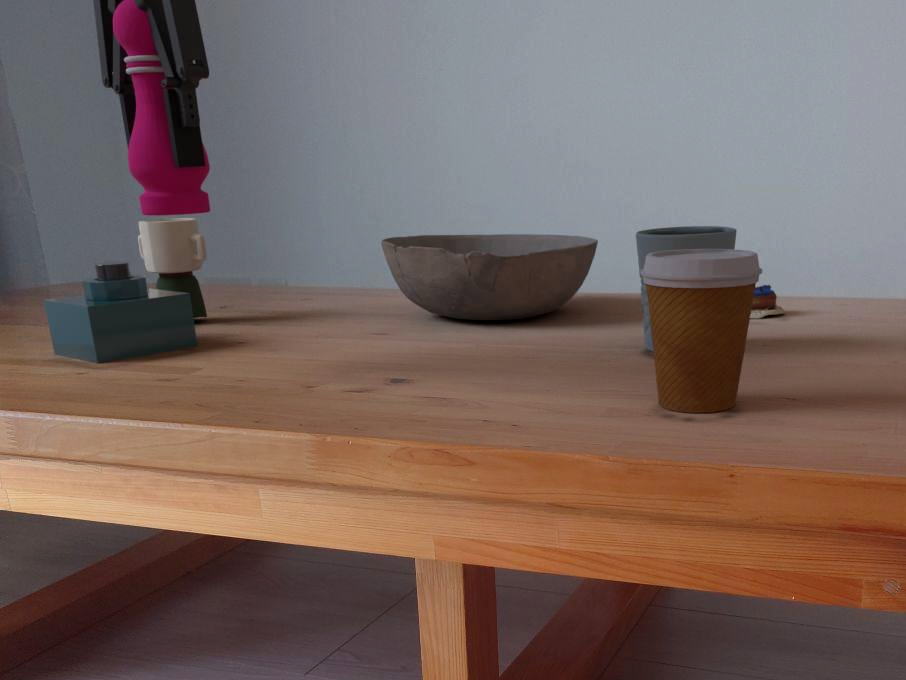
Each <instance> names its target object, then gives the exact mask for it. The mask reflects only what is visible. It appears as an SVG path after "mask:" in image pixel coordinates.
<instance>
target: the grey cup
mask: <svg viewBox="0 0 906 680" xmlns="http://www.w3.org/2000/svg"><path fill="white" fill-rule="evenodd" d="M737 231H738V230H737V228H735V227H730V226H717V225H691V226H669V227H658V228H650V229H643V230H639V231H636V233H635V242H636V253H637V261H638V272H639V274H638V275H639V279H640V284H641V285H640V297H641V307H642V308H641V309H642V311H643V319H642V321H643V337H644V346H645V347H644V348H645V349H646V350H648V351H651V352H653V344H652V335H651V326H650V316H649V307H648V297H647V288H646V283H644V279H643V276H642V275H641V273H640V271H641V270H643V269H644V265H645V260H646V256H647V254H649V253H653V252H659V251H669V250H684V249H733V250H736V240H737Z"/></svg>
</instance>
